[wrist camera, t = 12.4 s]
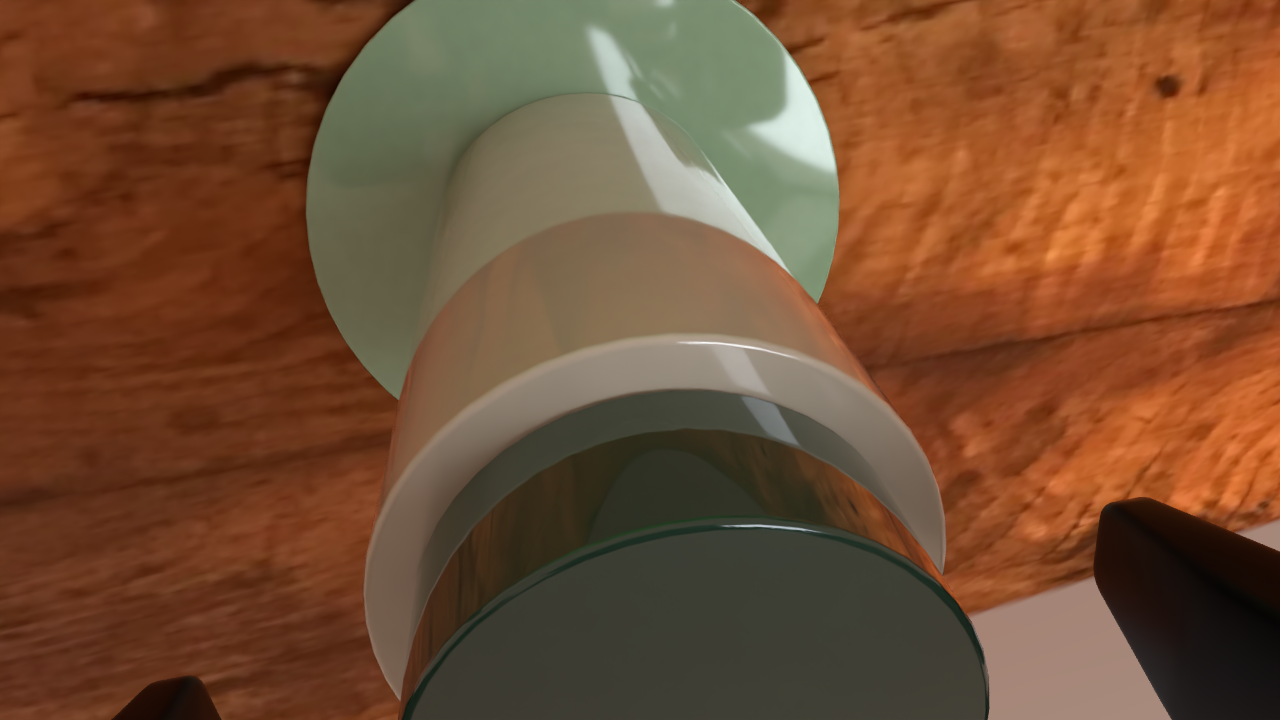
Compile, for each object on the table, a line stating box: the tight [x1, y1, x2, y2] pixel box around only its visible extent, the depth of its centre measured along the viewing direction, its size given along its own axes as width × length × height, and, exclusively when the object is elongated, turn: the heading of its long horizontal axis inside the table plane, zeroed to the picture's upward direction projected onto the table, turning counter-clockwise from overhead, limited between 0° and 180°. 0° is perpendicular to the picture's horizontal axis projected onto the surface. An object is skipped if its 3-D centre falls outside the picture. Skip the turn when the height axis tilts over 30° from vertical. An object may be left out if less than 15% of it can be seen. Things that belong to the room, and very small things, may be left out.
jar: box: [363, 93, 989, 720], centre depth 14 cm, size 13×6×13 cm
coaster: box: [306, 0, 840, 400], centre depth 19 cm, size 11×11×1 cm
